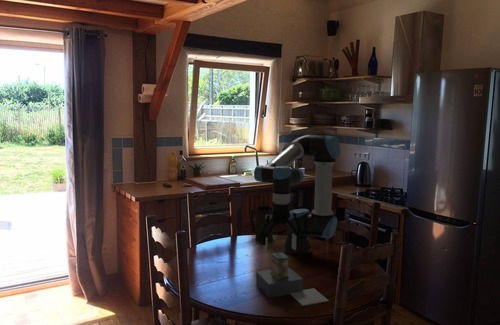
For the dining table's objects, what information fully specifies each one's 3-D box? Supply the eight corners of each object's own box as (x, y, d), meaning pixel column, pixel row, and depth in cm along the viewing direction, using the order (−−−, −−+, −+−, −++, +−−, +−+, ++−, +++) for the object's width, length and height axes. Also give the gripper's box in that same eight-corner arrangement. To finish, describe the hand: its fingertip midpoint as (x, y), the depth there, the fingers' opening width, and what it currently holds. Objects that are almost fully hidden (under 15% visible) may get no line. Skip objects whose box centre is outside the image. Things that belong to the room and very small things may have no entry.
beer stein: (276, 238, 248) (274, 205, 246) (271, 243, 238) (269, 210, 236) (252, 236, 254) (250, 205, 251) (246, 242, 244) (244, 209, 241)
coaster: (313, 289, 179) (313, 288, 179) (328, 301, 168) (328, 300, 168) (289, 293, 175) (289, 292, 175) (302, 306, 164) (302, 304, 164)
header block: (288, 279, 189) (288, 267, 188) (302, 292, 176) (303, 279, 175) (256, 284, 183) (256, 271, 183) (268, 297, 170) (269, 284, 170)
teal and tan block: (281, 284, 184) (281, 252, 182) (287, 290, 178) (288, 257, 176) (270, 286, 182) (271, 253, 180) (277, 292, 176) (277, 258, 174)
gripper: (302, 199, 182) (301, 245, 185) (250, 202, 174) (249, 250, 176) (311, 202, 176) (309, 250, 178) (257, 206, 167) (256, 256, 169)
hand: (279, 250), depth 177 cm, fingers open, 13 cm apart
